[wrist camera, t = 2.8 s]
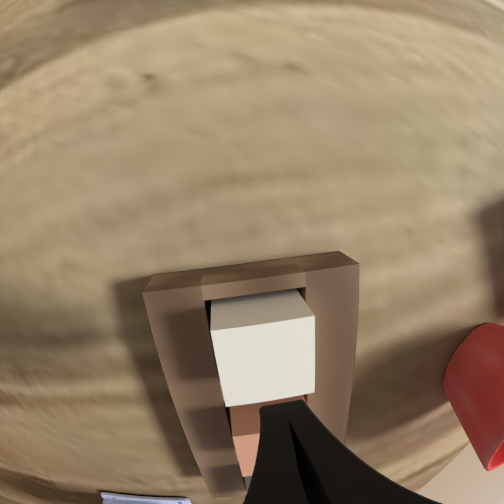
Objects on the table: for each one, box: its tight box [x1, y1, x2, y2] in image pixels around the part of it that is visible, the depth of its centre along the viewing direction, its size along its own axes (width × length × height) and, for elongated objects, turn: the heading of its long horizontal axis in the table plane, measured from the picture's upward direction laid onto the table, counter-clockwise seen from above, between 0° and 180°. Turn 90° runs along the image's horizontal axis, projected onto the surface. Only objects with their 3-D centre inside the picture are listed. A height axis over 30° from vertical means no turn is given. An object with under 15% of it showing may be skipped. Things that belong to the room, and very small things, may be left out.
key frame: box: [142, 251, 359, 498], centre depth 17 cm, size 10×18×2 cm, turn 6°
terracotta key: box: [230, 395, 307, 477], centre depth 14 cm, size 4×4×3 cm
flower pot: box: [443, 323, 504, 471], centre depth 15 cm, size 11×11×10 cm
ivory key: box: [210, 289, 315, 407], centre depth 13 cm, size 4×4×3 cm
